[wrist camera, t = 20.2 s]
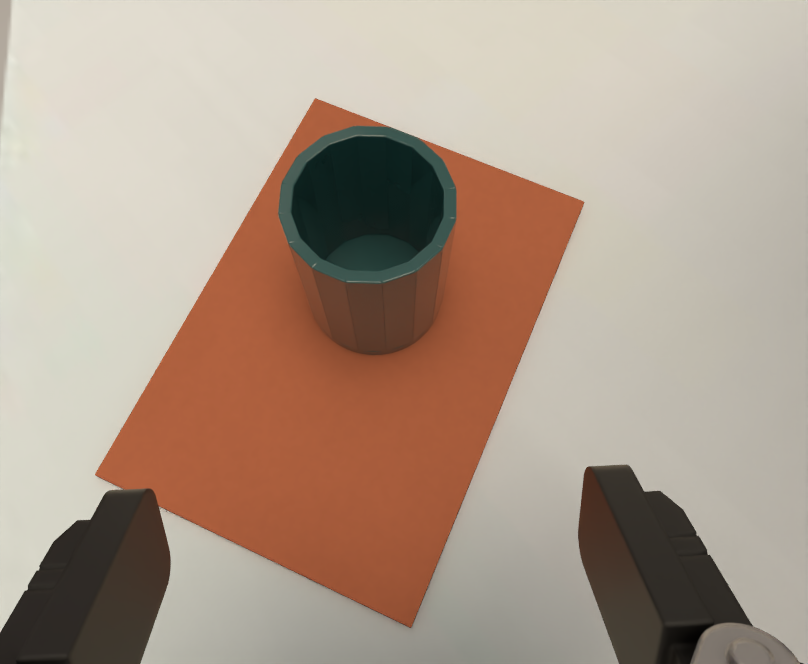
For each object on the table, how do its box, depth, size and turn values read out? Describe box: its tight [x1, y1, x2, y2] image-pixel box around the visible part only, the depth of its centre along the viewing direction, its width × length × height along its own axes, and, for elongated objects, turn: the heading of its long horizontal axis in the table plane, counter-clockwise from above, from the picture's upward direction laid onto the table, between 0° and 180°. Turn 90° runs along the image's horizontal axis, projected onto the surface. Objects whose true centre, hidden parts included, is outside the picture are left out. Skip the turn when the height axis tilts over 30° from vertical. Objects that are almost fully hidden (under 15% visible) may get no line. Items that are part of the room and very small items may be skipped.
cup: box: [278, 126, 457, 355], centre depth 26 cm, size 6×6×8 cm
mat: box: [95, 99, 584, 628], centre depth 30 cm, size 20×14×1 cm
